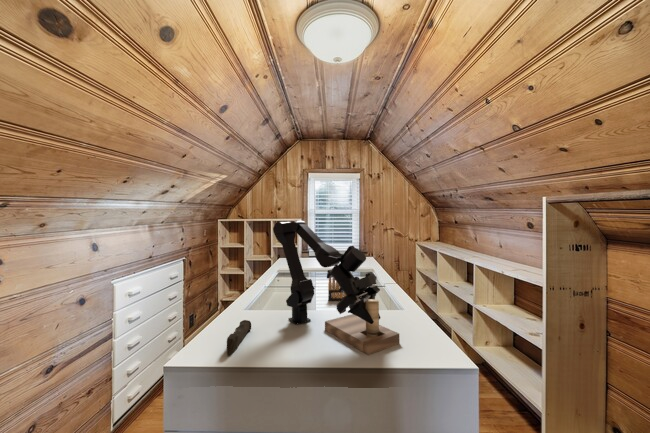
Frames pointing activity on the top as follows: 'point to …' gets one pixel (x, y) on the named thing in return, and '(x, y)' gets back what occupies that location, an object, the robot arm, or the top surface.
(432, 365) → the top surface
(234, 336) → the hand tool
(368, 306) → the oak peg
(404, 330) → the top surface
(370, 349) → the walnut board
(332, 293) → the ammunition clip
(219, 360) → the top surface
